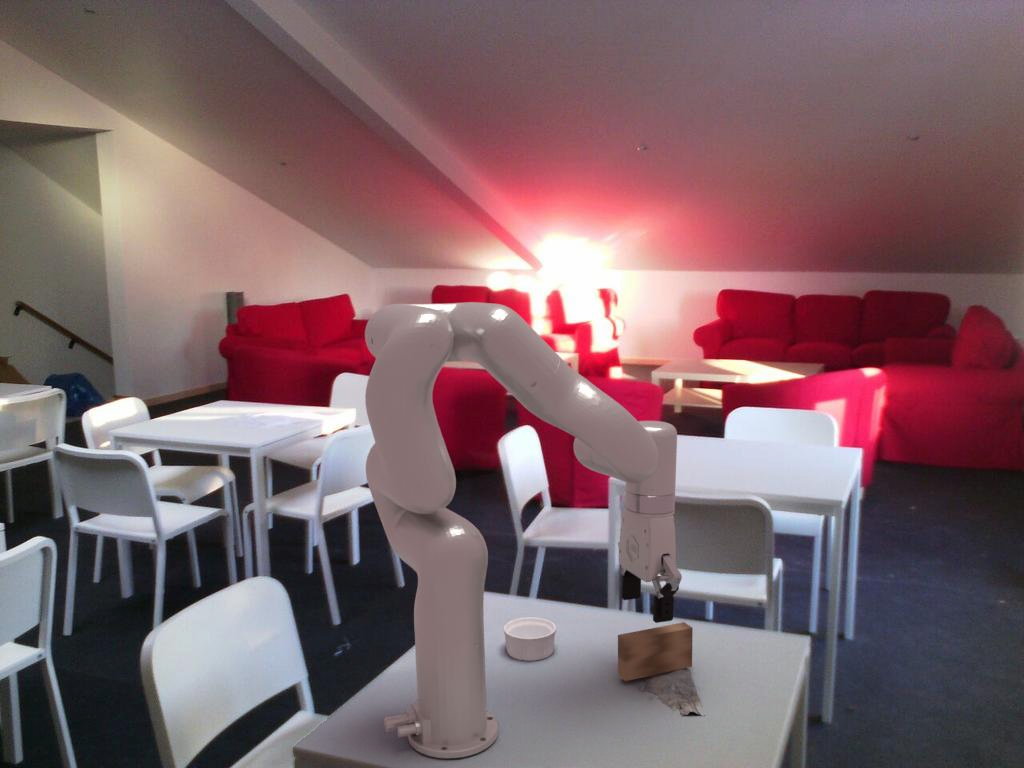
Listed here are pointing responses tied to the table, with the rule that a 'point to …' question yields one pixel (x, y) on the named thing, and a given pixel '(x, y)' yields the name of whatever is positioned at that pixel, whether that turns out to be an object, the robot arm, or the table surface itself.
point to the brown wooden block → (654, 651)
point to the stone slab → (674, 690)
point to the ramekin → (530, 638)
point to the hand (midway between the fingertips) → (646, 609)
